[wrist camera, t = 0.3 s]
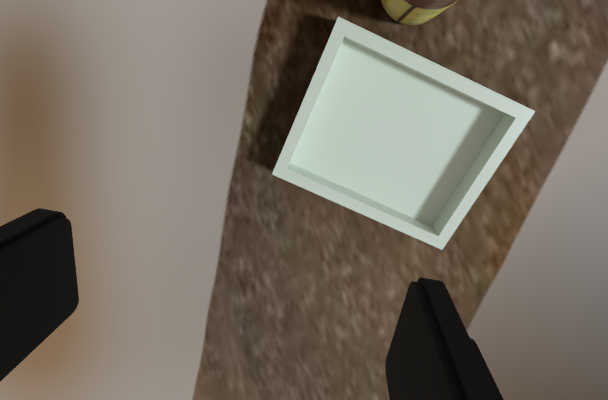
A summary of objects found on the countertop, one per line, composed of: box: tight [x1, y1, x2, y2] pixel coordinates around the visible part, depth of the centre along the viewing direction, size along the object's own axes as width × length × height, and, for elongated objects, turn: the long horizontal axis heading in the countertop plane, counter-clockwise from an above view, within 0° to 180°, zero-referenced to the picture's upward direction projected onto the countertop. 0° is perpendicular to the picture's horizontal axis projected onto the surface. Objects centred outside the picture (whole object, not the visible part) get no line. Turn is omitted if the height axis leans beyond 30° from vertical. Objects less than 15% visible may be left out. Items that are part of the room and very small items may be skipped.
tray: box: [272, 17, 535, 250], centre depth 37 cm, size 16×20×4 cm
